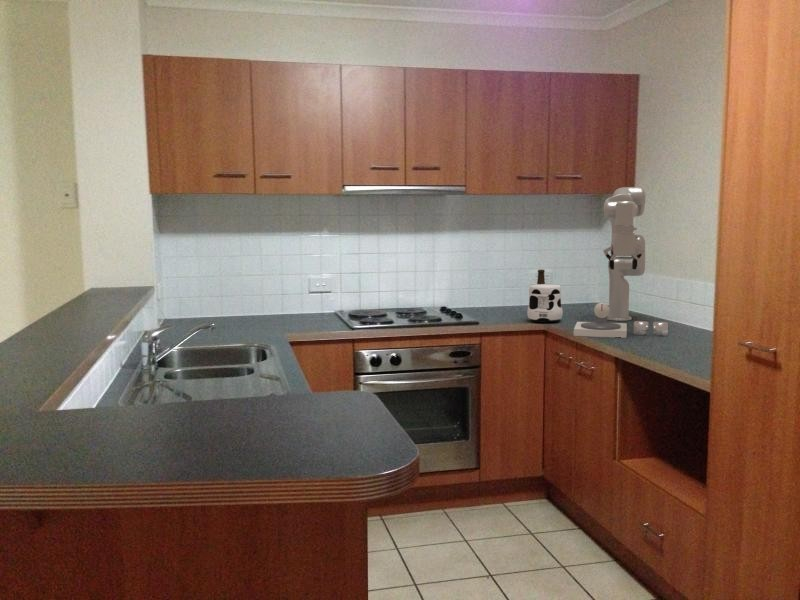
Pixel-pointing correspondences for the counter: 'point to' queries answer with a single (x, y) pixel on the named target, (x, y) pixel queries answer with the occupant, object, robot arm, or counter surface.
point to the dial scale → (601, 325)
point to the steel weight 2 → (660, 328)
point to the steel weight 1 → (641, 328)
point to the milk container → (544, 303)
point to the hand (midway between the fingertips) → (623, 269)
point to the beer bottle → (541, 277)
